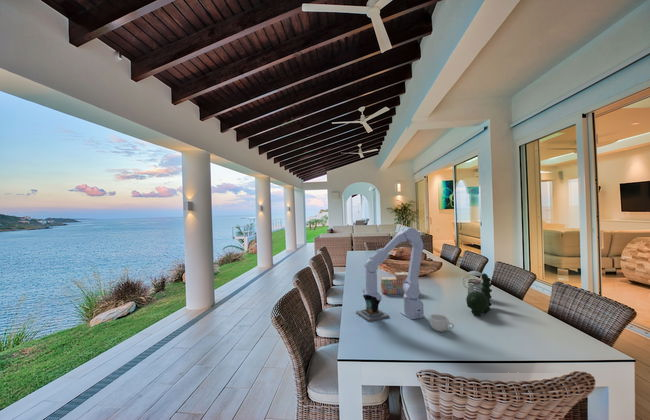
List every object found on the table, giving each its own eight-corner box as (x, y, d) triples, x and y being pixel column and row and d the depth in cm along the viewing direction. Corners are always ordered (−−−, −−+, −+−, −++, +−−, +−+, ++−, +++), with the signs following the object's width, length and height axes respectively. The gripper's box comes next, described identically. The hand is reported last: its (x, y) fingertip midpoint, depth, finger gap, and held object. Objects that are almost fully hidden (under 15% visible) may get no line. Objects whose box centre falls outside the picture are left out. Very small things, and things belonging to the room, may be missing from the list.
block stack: (378, 314, 140) (378, 301, 140) (370, 315, 138) (370, 302, 138) (373, 311, 144) (373, 298, 144) (366, 312, 142) (366, 300, 142)
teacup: (427, 330, 123) (426, 317, 123) (434, 324, 128) (433, 312, 128) (450, 336, 116) (450, 323, 116) (456, 330, 121) (456, 318, 121)
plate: (389, 317, 138) (389, 313, 138) (368, 321, 133) (368, 317, 133) (375, 309, 149) (375, 305, 149) (356, 313, 144) (356, 309, 144)
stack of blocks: (382, 294, 175) (381, 274, 175) (381, 291, 181) (380, 272, 181) (416, 293, 174) (416, 274, 174) (414, 291, 180) (413, 272, 180)
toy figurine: (477, 306, 154) (461, 315, 136) (477, 271, 155) (461, 275, 137) (497, 310, 147) (483, 321, 129) (497, 273, 148) (483, 278, 130)
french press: (488, 299, 160) (487, 256, 160) (468, 299, 161) (466, 256, 161) (479, 294, 170) (478, 253, 170) (460, 294, 171) (459, 253, 170)
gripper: (357, 281, 146) (358, 306, 146) (372, 288, 133) (373, 316, 133) (369, 279, 149) (369, 304, 149) (384, 286, 135) (385, 314, 135)
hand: (372, 310), depth 141 cm, fingers closed on block stack, 4 cm apart
